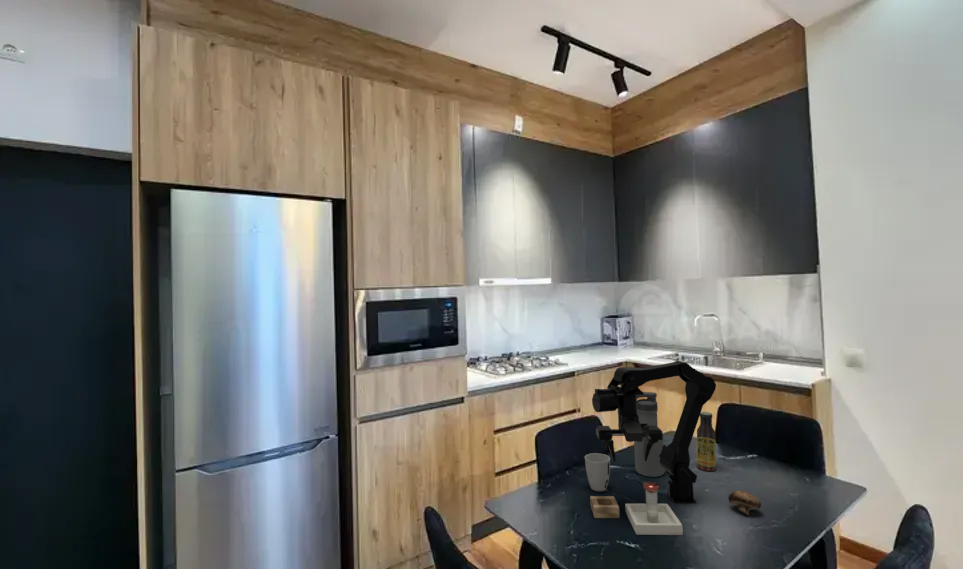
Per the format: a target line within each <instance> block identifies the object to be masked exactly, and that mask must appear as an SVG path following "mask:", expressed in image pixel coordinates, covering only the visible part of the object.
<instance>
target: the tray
mask: <svg viewBox="0 0 963 569" xmlns="http://www.w3.org/2000/svg"><path fill="white" fill-rule="evenodd" d="M624 504H625V506H624V510H625V514H626V516H627V519H628V520H629V522H630V525H631V526H632V528H633V531H634V533H635V534H636V535H637V536H638V535H639V536H641V535H643V536H645V535H647V536H648V535H653V536H655V535H656V536H665V535H666V536H683V535H684V534H683V533H684V530H683V527H684V526H683V524H682V523H681V522H680V521H681V520H679V518H678V517H677V515H676V514H675V512H674V511H673V510H672V508H671V507H670V505H669V504H668V503H658V523H649V522H648V521H647V510H646V503H624Z"/></svg>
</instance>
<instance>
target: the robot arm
mask: <svg viewBox="0 0 963 569" xmlns="http://www.w3.org/2000/svg"><path fill="white" fill-rule="evenodd" d="M674 377H678V378H679V379H681V380H682V381H683V382H685V387H684V391H685V397H686V399H685V403H684V406H683V408H682V411H681V415H680V417H679V421H678V423H677V426H676V429H675V433H674V435H673V438H672V441H671V442H670V443H669V444H668V445H666V444H663V447H662V451H661V454H660V455H659V457H660V464H661V466H662V468H663V469H665V472H664V473H665V474H667V475H668V480H667V481H666V486H667V495H668V497H669V498H670V499H671V501H673V502H674V503H697V502H696V499H695V498H694V484H695V483H696V482H697V478H698V475H697V474H696V473H695V472H694V471H693V470H691V469H690V464H691V457H690V451H689V449H690V446H691V444H692V440H693V438H694V437H693V436H694V433H695V431H696V428H697V425H698V423H699V420H700V413H701V412H702V410H703V407H704V405H705V404H706V403H707V402H709V401H710V400H711V398H712V397H713V394H714V393H715V391H716V389H717V384H716V382H715V379H713V377H710V376H707V375H705V374H704V373H702V372H700V371H699V370H698V369H696V368H694V367H692V366H691V365H690V364H689V363H687V362H685V361H682V360H676V361H673V362H668V363H663V364H657V365H651V366H645V367H633V366H620V367H617V368H616V369H615V371H614V374H613V377H612V379H611V380H610V381H609V383H608V385H607V386H606V388H595V389H594V393H593V395H592V398H591V403H592V407H593V410H594V412H595V413H605V412H615V411H617V421H618V426H617V429H616V428H613V429H612V428H611V427H610V426H609V425H597V426H596V427H595V434H596V437H597V438H598V440H599V441H602V442H603V443H606V445H607V447H608V449H609V452H610V455H611V457H612V460H613V462H616V453H615V446H614V445H615V444H614V439H613V438H614V437H619V436H620V437H622V436H623V437H624V439H625V441H626V442H629V443H632V442H634V441H638V442H642V441H643V454H644V461H647V458H648V455H649V452H650V449H651V447H652V445H653V444H654V443H657V442H658V440H663V441H664V432H663V430H662V429H661V428H660V429H661V430H662V431H661V430H660V429H659V426H658V427H657V426H656V425H648V423H640V422H639V418H638V410H637V401H638V399H637V395H643V394H644V393H643V392H644V391H643V390H641V389H640V388H639V387H641V386H643V385H645V384H646V383H648V382H651V381H657V380H663V379H667V378H668V379H669V378H674ZM662 432H663V433H662Z"/></svg>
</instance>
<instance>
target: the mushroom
mask: <svg viewBox="0 0 963 569" xmlns="http://www.w3.org/2000/svg"><path fill="white" fill-rule="evenodd" d="M728 501H729V504H731V505H732V506H734V507H737V510H738V511H740V512H741V513H743V514H744V515H747V516H749V515H750V511H751V510H754V511H755V510H760V509H761V507H762V503H761V501H760V499H759V498H758V497H757V496H755V495H753V494H752V493H749V492H747V491H744V490H734V491H733V492H731V493H730V494H729V495H728Z"/></svg>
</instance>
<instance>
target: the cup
mask: <svg viewBox="0 0 963 569" xmlns="http://www.w3.org/2000/svg"><path fill="white" fill-rule="evenodd" d="M584 461H585V462H584V465H585V471H586V475H587V481H588V483H589V486H590V489H591V490H593V491H595V492H605V491H606V490H607V489H608V486H609V482H610V481H609V480H610V474H611V457H610V456H609V455H607V454H603V453H597V452H595V453H593V452H592V453H589V454H588V453H587V454H586V455H584Z"/></svg>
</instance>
